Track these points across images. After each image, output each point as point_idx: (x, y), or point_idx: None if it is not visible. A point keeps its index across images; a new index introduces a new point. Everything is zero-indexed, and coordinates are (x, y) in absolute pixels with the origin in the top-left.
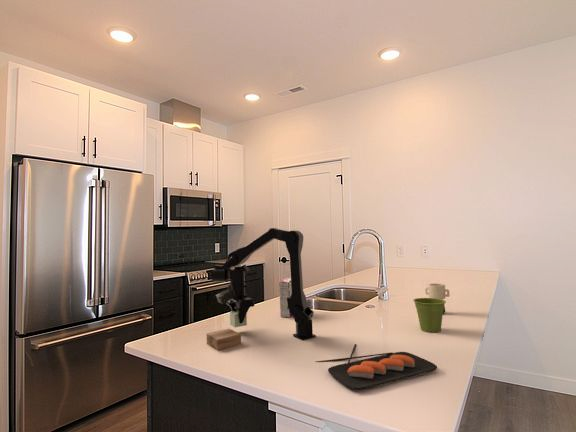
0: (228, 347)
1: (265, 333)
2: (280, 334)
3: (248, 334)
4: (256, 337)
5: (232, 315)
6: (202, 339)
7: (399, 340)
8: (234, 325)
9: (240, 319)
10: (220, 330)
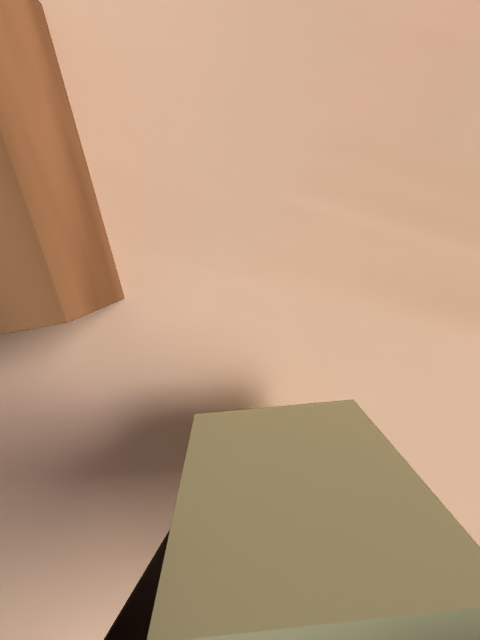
0: None
1: (122, 570)
2: (51, 634)
3: (160, 468)
4: (50, 495)
5: (305, 552)
6: (235, 2)
7: None
8: (208, 426)
9: (149, 574)
10: (10, 163)
